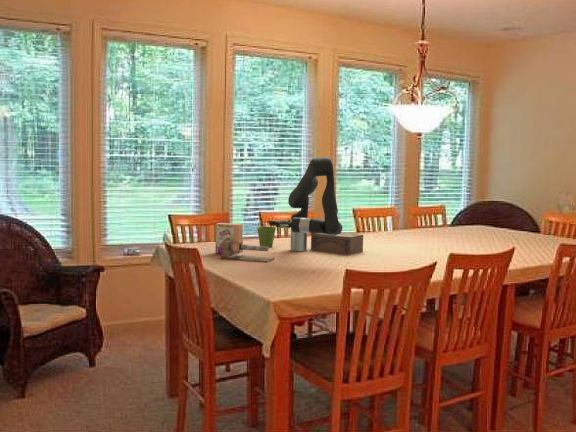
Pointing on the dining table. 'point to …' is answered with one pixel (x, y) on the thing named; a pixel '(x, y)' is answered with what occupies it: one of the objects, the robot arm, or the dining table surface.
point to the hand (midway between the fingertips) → (269, 222)
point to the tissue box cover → (337, 243)
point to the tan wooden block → (237, 238)
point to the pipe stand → (228, 255)
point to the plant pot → (266, 236)
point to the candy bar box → (223, 236)
